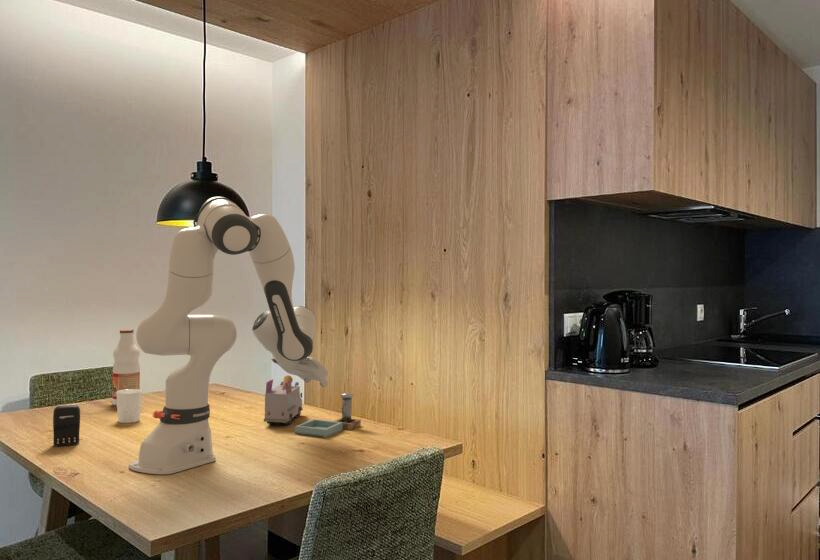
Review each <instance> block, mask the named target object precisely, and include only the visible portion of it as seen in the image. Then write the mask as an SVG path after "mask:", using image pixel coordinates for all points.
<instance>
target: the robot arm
mask: <svg viewBox="0 0 820 560" xmlns="http://www.w3.org/2000/svg"><path fill="white" fill-rule="evenodd" d="M192 223H193V227H187V228H183V229H182V228H181V230H178V232H176V233H175V235H174V237H173V240H172V243H171V244H172V245H171V249H170V254H169V264H168V278H167V288H166V292H165V296H164V299H163V300H162V303H161V304H160V306H159V307H158V308H157V309H156V310H155V311H154V312H152V313H151V314H149V315H148V316H146V317H144V318H143V319H142V320H141V321H140V323H139V325H138V326H137V330H136V334H135V337H136V338H135V339H136V343H137V345H138V346H139V347H138V348H139V349H140V350H141V351H142V352H143V353H145V354H147V355H148V354H149V355H154V356H162V357H163V356H190V357H189V360H188V361H187V363H186V364H185V365H183V366H180V367H179V368H176V369H175V370H173V371H172V372H171V373H170V374H168V376H167V377H166V379H165V389H164V390H165V399H164V400H165V402H164V406H163V409H162V410H154V411H153V413H152V417H153V419H158V420H159V421H160V422H159V423H158V424H157V426H155V428H154V429H153V430H152V431H151V432H150V433H149V434H148V435H147V437H145V438H144V440H143V441H142V442H141V444H140V448H139V454H138V459H135V460H133V461H132V462H129V464H128V468H129V469H130V470H132V471H135V472H140V473H143V474H151V475H171V474H175V473H178V472H182V471H185V470H189V469H192V468H195V467H198V466H199V467H200V466H202V465H206V464H208V463H213V462H215V461H216V456H215V454H214V451H213V442H212V441H213V437H212V430H211V427H210V424H209V418H210V415H211V413H210V412H211V409H210V404H209V390H210V389H209V388H210V386H209V385H210V380H211V375H212V371H213V369H214V367H215V365H217V362H218V361H219V360H220V359H221V357H223V356H224V355H225V354H226V353H227V352H229V351H230V350H231V349H232V348H233V347H234V345H235V343H236V341H237V335H238V334H237V331H238V330H237V327H236V325H235V322H234V321H233V320H232V319H231V318H230V317H228V316H224V315H219V314H213V313H212V314H211V313H210V314H207V313H206V314H190V313H192V312H193V311H194V310H196V309H198V308H200V307H202V306H204V305H205V304H206V303H208V301H209V300H210V299H211V296H213V295H212V293H213V282H214V281H213V280H214V267H215V265H214V263H215V262H214V260H215V258H216V254H217V252H218V251H221V252H222V253H225V254H226V255H232V256H233V255H234V256H235V255H241V254H243V253H246V252H248V253H249V256H250V259H251V262H252V263H253V267H254V268H255V271H256V273H257V276H258V279H259V281H260V284H261V287H262V290H263V293H264V295H265V297H266V298H265V299H266V302H267V306H268V308H269V310H266V311H264V312H262V313H260V314H259V315H258V316H257V318H256V319H255V320H254V322H253V324H252V327H251V328H252V329H251V330H252V334H253V335H254V337H255V338H256V340H257V341H258V342H259V344H261V346H262V347H263V348H264V349H265V350H267V351H268V352H270V354H271V355H272V357H271V358H270V360H271V361H272V362H273V363H274V364H277V365H278V366H279V367H280V368H281V369H282V370H283V371H285V372H286V373H287V374H289V375H293V376H297V377H298V378H300V379H301V380H303V382H305V383H307V384H309V383H310V382H311V381H312V380H314V381H317V382H319V385H320V386H321V387H324V388H327V386H329V382H328V381H327V377H328V376H329V371H328V369H327V368H326V367H325V366H323V364H321V362H320V361H318V360H317V359H316V358H314V357H311V355H312V353H313V351H314V350H313V349H314V337H315V330H316V320H317V318H316V314H315V313H314V312H313V310H311V309H310V308H308V307H306V306H302V305H296V306H295V305H294V303H293V298H292V296H293V295H292V292H293V281H294V277H295V276H294V275H295V268H296V267H295V259H294V254H293V251H292V247H291V245H290V243H289V240H288V237H287V236H286V233H285V231H284V230H283V227H282V226H281V225H280V222H279V221H278V220H277V218H276V217H275V216H273V215H271V214H269V213H260V214H256V215H253V216H248V215H246V214H245V212H244V211H243V210H242V209H241V208H240V207H239V206H238V204H237V203H235V202H234V201H233V200H232V199H229V198H228V197H224V196H213V197H210V198H208V199H207V200H206V201H205V202H204V203H203V204H202V205H201V208H200V209H199V212H198V213H197V215H196V216H195V218H194V219H193V222H192Z"/></svg>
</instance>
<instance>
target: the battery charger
mask: <svg viewBox="0 0 820 560" xmlns="http://www.w3.org/2000/svg"><path fill="white" fill-rule="evenodd" d="M52 411H53V412H52V431H53V432H52V435H53V440H52V441H53V442H52V443H53V446H54V447H63V446H73V445H77V444H80V430H81V408H80V406H79V405H78V404H73V403H71V404H60V405H57V406H55V407H54V409H53V410H52Z"/></svg>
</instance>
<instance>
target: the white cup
mask: <svg viewBox="0 0 820 560" xmlns="http://www.w3.org/2000/svg"><path fill="white" fill-rule="evenodd" d="M142 396H143V390H142V389H140V390H139V389H126V390H120V391H117V406H116V409H117V421H118V423H121V424H130V423H132V422H133V423H137V422H140V419H141V411H142V401H143V400H142V399H143V397H142Z"/></svg>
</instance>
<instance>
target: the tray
mask: <svg viewBox="0 0 820 560" xmlns="http://www.w3.org/2000/svg"><path fill="white" fill-rule="evenodd" d="M294 430H295V431H294V434H295V435H301V436H306V437H307V436H308V437H315V438H316V437H317V438H322V439H323V438H324V439H327V438H329V437H331V436H333V435H335V434H337V433H339V432H341V431H343V430H344V429H343V422H335V420H326V419H318V418H317V419H316V418H312V419H309V420H307V421H305V422H302V423H300V424H298V425H295V427H294Z"/></svg>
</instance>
